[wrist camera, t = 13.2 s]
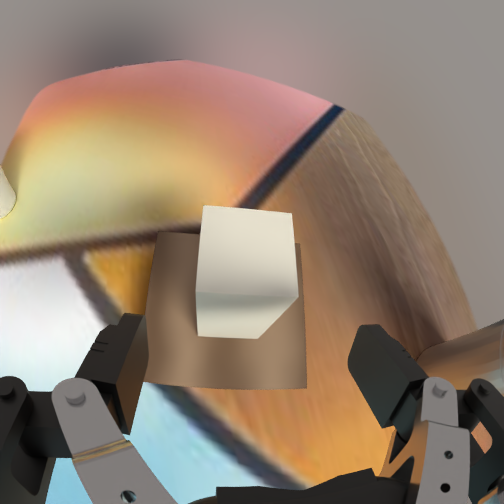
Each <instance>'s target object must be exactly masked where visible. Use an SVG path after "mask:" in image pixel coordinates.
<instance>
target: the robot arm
mask: <svg viewBox="0 0 504 504" xmlns="http://www.w3.org/2000/svg"><path fill="white" fill-rule="evenodd" d="M148 359H149V348H148V336H147V323H146V317H145V315H139V314H131V313H124V314H123V316H122V318H121V320H120V322H119V324H118V325H117V326H116V325H109V326H107V327H106V328H104V329H103V330H102V331H100V333H99V334H98V336H97V338H96V339H95V343H93V345H92V346H91V348H90V350H89V352H88V354H87V355H86V357H85V359H84V361H83V363H82V364H81V366H80V368H79V370H78V372H77V374H76V376H75V377H74V378H70V379H66V380H64V381H62V382H60V383H59V384H58V385H56V387H55V388H54V390H53V391H52V392H37V391H28V390H27V387H26V385H25V383H24V382H23V381H22V380H21V379H19V378H17V377H13V376H5V377H2V378H0V504H45V502H46V497H47V493H48V488H49V484H50V480H51V476H52V472H53V469H54V465H55V461H56V458H72V462H73V465H74V467H75V469H76V471H77V474H78V476H79V478H80V480H81V482H82V484H83V486H84V488H85V490H86V492H87V493H88V495H89V497H90V499H91V501H92V503H93V504H178V503H177V502H176V501H175V500H174V499H173V498H172V496H171V495H170V494H169V493H168V492H167V490H166V489H165V488H164V487H163V485H162V484H161V483H160V482H159V480H158V479H157V478H156V476H155V475H154V474H153V472H152V471H151V470H150V468H149V467H148V466H147V464H146V463H145V461H144V460H143V459H142V457H141V456H140V454H139V453H138V451H137V450H136V448H135V447H134V446H133V444H132V443H131V442H130V441H129V440H128V441H127V440H126V439H125V438H124V436H123V434H127V435H130V433H131V428H132V424H133V420H134V416H135V412H136V408H137V404H138V400H139V396H140V392H141V388H142V385H143V381H144V377H145V374H146V370H147V366H148ZM348 369H349V371H350V373H351V375H352V377H353V378H354V380H355V382H356V384H357V385H358V387H359V389H360V391H361V392H362V394H363V396H364V398H365V399H366V401H367V403H368V405H369V406H370V408H371V410H372V412H373V413H374V415H375V417H376V419H377V421H378V422H379V424H380V426H381V428H386V427H390V426H395V428H396V429H395V430H394V431H393V433H392V436H391V440H390V444H389V447H388V451H387V455H386V458H385V462H384V465H383V468H382V471H381V473H380V475H379V476H375V475H374V472H373V470H372V468H369V469H365V470H361V471H357V472H353V473H349V474H344V475H340V476H337V477H335V478H333V479H330V480H328V481H326V482H323V483H321V484H319V485H316V486H314V487H311V488H309V489H306V490H287V489H277V488H269V487H261V486H251V487H216V496H212V497H207V498H203V499H200V500H196V501H194V502H191V503H188V504H467V500H468V496H469V498H470V500H471V502H472V504H504V319H503V320H500V321H498V322H496V323H494V324H491V325H489V326H487V327H484V328H482V329H479V330H477V331H474V332H472V333H469V334H466V335H464V336H461V337H458V338H456V339H453V340H450V341H447V342H444V343H441V344H438V345H435V346H432V347H430V348H427V349H426V350H425V351H423V352H422V354H421V355H420V356H419V358H418V360H417V361H415V360H414V359H413V358H411V355H410V354H409V353H408V352H407V351H406V350H405V348H404V347H403V346H402V345H401V344H400V343H399V342H398V341H396V340H395V339H393V338H392V337H390V336H389V335H388V334H387V332H386V331H385V330H384V329H383V328H382V327H381V326H380V325H378V324H374V325H361V326H360V327H359V328H358V331H357V333H356V336H355V339H354V342H353V345H352V348H351V351H350V354H349V356H348ZM480 421H481V423H482V424H483V425H484V427H485V428H486V430H487V431H488V432H489V434H490V435H491V437H492V446H491V448H490V449H489V450H488V451H487V452H486V453H485V454H484V452H483V451H482V449H481V447H480V446H479V444H478V443H477V441H476V440H475V438H474V437H473V435H472V434H471V432H472V431H473V430H474V428H475V427H476V426H477V425H478V423H479V422H480Z"/></svg>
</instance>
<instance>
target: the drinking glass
mask: <svg viewBox="0 0 504 504" xmlns="http://www.w3.org/2000/svg"><path fill="white" fill-rule="evenodd" d="M15 202H16V194H15V192H14V190H13V188H12V187H11V185H10V183H9V181H8V179H7V177H6V175H5V173H4V171H3V169H2V167H1V165H0V219H1V218H3V217H5V216H6V215H8V214H9V213H10V211H11V210H12V209H13V207H14V205H15Z"/></svg>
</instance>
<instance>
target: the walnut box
mask: <svg viewBox="0 0 504 504" xmlns="http://www.w3.org/2000/svg"><path fill="white" fill-rule="evenodd" d="M199 244H200V235H199V234H187V233H175V232H163V231H158V234H157V240H156V245H155V251H154V256H153V262H152V268H151V275H150V281H149V288H148V295H147V303H146V311H145V317H146V323H147V336H148V348H149V359H148V366H147V370H146V374H145V377H144V381H143V382H149V383H157V384H165V385H175V386H185V387H198V388H214V389H241V390H275V389H303V388H307V369H306V337H305V314H304V295H303V279H302V264H301V250H300V244H298V243H294V244H295V255H296V268H297V281H298V296H299V297H298V298H297V299H296V300H295V301H294V302H293V303H292V304H291V305H290V307H289V308H288V309H287V310H286V311H285V312H284V313H283V314H282V315H281V316H280V317H279V318H278V319H277V320H276V321H275V322H274V323H273V324H272V325H271V326H270V327H269V328H268V329H267V330H266V331H265V332H264V333H263V334H262V335H261V336H260V337H259V338H258V339H246V338H221V337H204V336H198V329H197V312H196V279H197V266H198V255H199Z"/></svg>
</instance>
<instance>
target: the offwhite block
mask: <svg viewBox="0 0 504 504" xmlns="http://www.w3.org/2000/svg"><path fill="white" fill-rule="evenodd" d="M298 297H299V296H298V281H297V268H296V255H295V244H294V232H293V222H292V213H283V212H273V211H263V210H253V209H242V208H231V207H220V206H207V205H204V206H203V215H202V224H201V234H200V244H199V255H198V266H197V279H196V312H197V329H198V336H204V337H221V338H246V339H258V338H259V337H260V336H261V335H262V334H263V333H264V332H265V331H266V330H267V329H268V328H269V327H270V326H271V325H272V324H273V323H274V322H275V321H276V320H277V319H278V318H279V317H280V316H281V315H282V314H283V313H284V312H285V311H286V310H287V309H288V308H289V307H290V305H291V304H292V303H293V302H294V301H295V300H296V299H297V298H298Z"/></svg>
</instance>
